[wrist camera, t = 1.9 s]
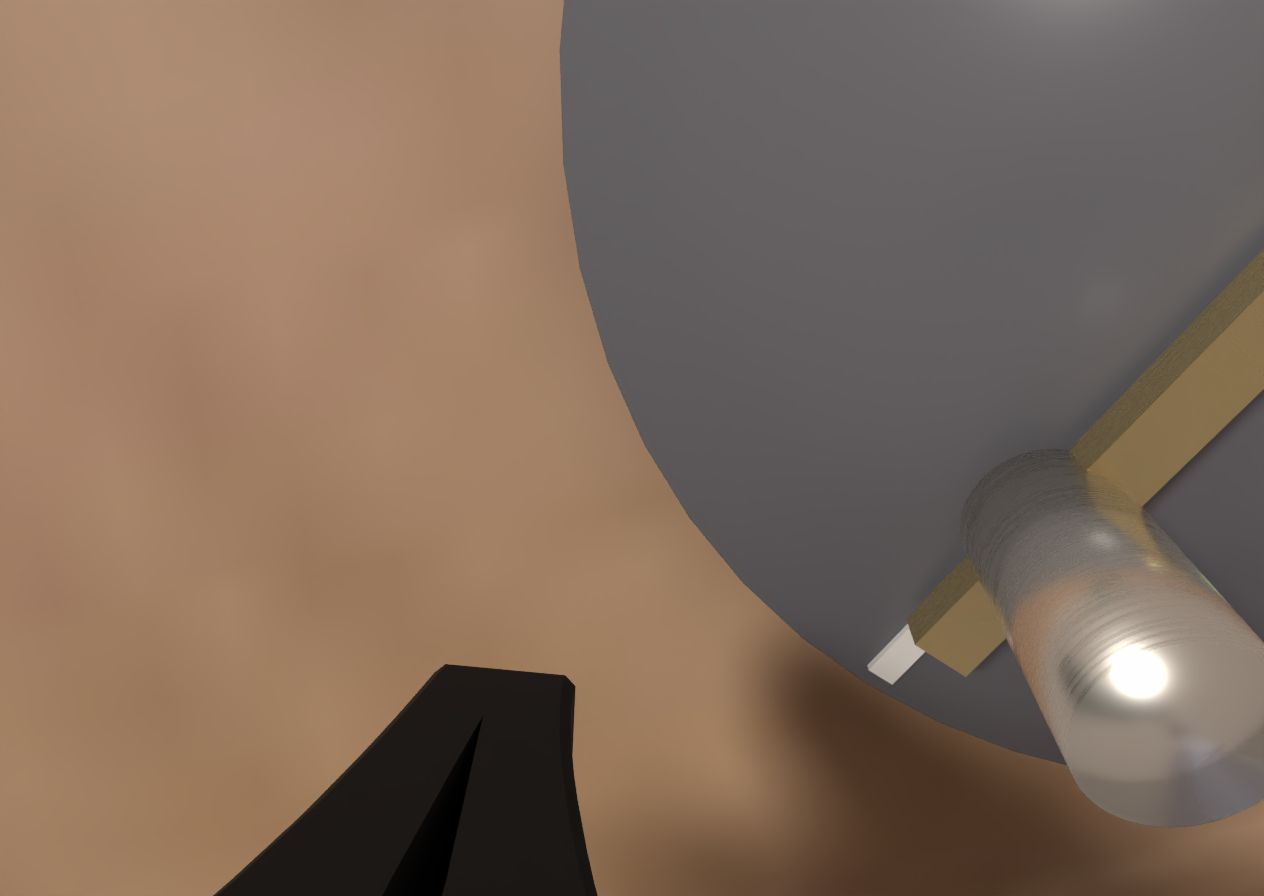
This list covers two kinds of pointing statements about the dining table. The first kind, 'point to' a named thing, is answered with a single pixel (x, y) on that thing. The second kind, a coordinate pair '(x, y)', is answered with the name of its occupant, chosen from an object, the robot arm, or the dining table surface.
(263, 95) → the dining table surface
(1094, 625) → the brass vanity light
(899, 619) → the tuner dial
